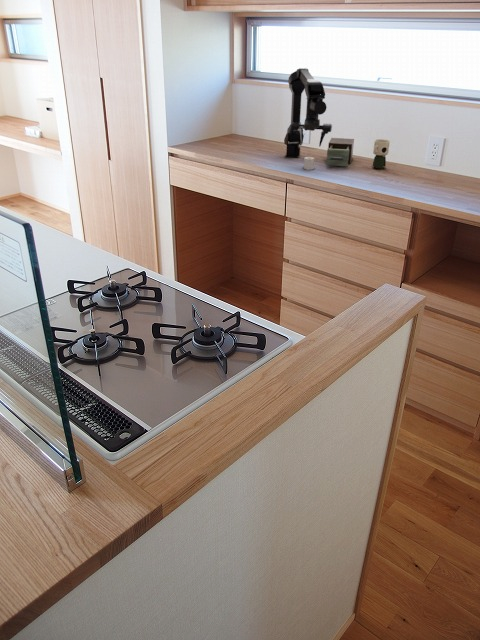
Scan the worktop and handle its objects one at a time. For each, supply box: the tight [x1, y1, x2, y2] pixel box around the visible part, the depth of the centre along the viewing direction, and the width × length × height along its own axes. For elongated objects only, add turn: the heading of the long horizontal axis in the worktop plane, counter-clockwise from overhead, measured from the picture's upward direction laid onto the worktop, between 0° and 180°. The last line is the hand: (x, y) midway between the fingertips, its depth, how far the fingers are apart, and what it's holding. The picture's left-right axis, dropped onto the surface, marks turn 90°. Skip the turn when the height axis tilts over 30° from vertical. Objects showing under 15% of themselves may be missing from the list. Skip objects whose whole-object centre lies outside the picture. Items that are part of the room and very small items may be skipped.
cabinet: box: [327, 137, 355, 165], centre depth 277 cm, size 14×12×10 cm
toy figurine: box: [372, 138, 391, 170], centre depth 262 cm, size 11×7×13 cm, turn 132°
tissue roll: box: [303, 156, 315, 171], centre depth 262 cm, size 5×5×5 cm
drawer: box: [325, 145, 350, 167], centre depth 266 cm, size 17×10×8 cm, turn 166°
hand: (310, 145), depth 258 cm, fingers open, 9 cm apart
